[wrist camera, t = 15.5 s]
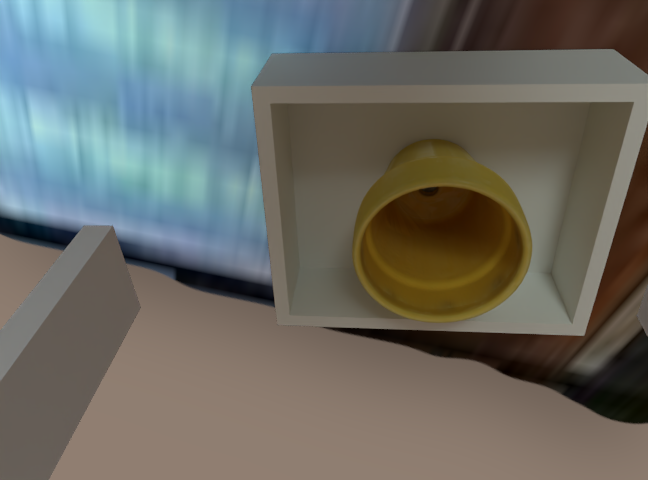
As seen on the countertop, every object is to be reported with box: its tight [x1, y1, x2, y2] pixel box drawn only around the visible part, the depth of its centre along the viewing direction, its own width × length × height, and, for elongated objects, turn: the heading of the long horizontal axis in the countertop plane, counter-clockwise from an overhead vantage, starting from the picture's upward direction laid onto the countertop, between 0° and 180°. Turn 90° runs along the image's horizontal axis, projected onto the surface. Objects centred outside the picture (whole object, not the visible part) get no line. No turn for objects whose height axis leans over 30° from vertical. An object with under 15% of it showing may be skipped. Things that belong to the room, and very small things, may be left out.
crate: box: [251, 49, 648, 336], centre depth 38 cm, size 18×22×7 cm
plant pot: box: [352, 139, 532, 323], centre depth 36 cm, size 10×10×10 cm
